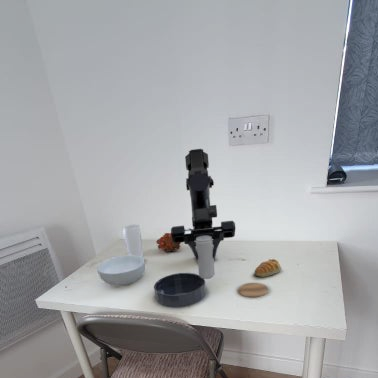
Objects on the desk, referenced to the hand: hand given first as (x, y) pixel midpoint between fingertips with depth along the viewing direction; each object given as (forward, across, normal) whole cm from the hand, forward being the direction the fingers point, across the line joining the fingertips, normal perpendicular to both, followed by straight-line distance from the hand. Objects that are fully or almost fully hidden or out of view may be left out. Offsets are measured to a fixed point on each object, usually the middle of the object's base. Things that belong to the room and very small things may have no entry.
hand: (205, 258), depth 95 cm
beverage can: (+4, 0, +6) cm, 7 cm away
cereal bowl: (-4, -30, +23) cm, 38 cm away
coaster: (+8, +14, +11) cm, 19 cm away
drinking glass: (-16, -28, +35) cm, 48 cm away
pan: (+7, -9, +12) cm, 16 cm away
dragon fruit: (-23, -15, +43) cm, 51 cm away
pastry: (-1, +21, +20) cm, 29 cm away
